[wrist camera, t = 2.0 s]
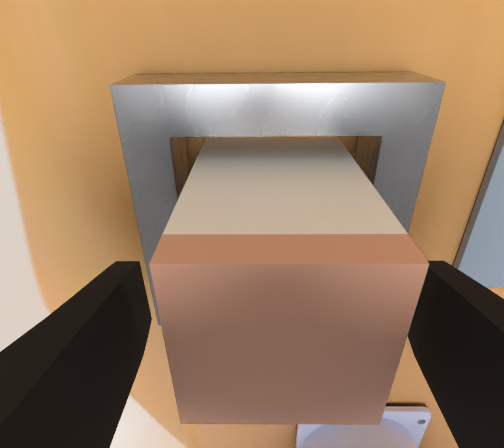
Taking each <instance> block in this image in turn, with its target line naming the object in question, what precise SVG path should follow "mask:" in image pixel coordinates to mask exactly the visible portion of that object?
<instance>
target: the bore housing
mask: <svg viewBox="0 0 504 448" xmlns="http://www.w3.org/2000/svg"><path fill="white" fill-rule="evenodd" d="M445 84H446V82H444V81H440V80H437V79H434V78H430V77H427V76H424V75H421V74H417V73H414V72H322V73H209V74H135V75H133V76H130V77H128V78H126V79H123V80H121V81H118V82H116V83H113V84H111V85H110V90H111V95H112V100H113V105H114V109H115V114H116V119H117V124H118V129H119V134H120V139H121V144H122V149H123V154H124V159H125V164H126V169H127V174H128V178H129V183H130V188H131V193H132V198H133V203H134V208H135V213H136V218H137V223H138V228H139V233H140V238H141V243H142V247H143V252H144V257H145V262H146V267H147V272H148V277H149V282H150V287H151V292H152V297H153V302H154V307H155V312H156V316H157V321H158V325H161V321H160V316H159V311H158V306H157V301H156V296H155V291H154V286H153V281H152V275H151V270H150V265H149V263H150V261H151V259H152V256H153V254H154V252H155V250H156V248H157V245H158V243H159V241H160V239H161V236H162V234H163V232H164V230H165V228H166V225H167V223H168V221H169V219H170V216H171V214H172V212H173V210H174V207H175V205H176V203H177V201H178V199H179V196H180V194H181V192H182V190H183V187H184V185H185V183H186V181H187V179H188V176H189V174H190V171H189V162H188V152H187V143H186V137H254V136H358V140H357V147H356V154H355V161H356V163H357V164H358V165H359V167H360V168H361V170H362V171H363V172H364V174H365V175H366V176H367V178H368V179H369V181H370V182H371V183H372V185H373V186H374V188H375V189H376V190H377V192H378V193H379V194H380V196H381V197H382V199H383V200H384V201H385V203H386V204H387V206H388V207H389V208H390V210H391V211H392V212H393V214H394V215H395V217H396V218H397V219H398V221H399V222H400V224H401V225H402V226H403V228H404V229H405V230H406V232H407V233H408V230H409V226H410V222H411V218H412V214H413V210H414V206H415V202H416V198H417V194H418V190H419V186H420V183H421V179H422V175H423V171H424V167H425V163H426V159H427V155H428V151H429V147H430V143H431V139H432V135H433V131H434V128H435V124H436V120H437V116H438V112H439V108H440V104H441V100H442V96H443V92H444V88H445Z"/></svg>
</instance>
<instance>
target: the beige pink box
mask: <svg viewBox="0 0 504 448" xmlns="http://www.w3.org/2000/svg"><path fill="white" fill-rule="evenodd" d="M149 265H150V270H151V275H152V281H153V286H154V291H155V296H156V301H157V306H158V311H159V316H160V321H161V326H162V331H163V336H164V341H165V346H166V352H167V357H168V362H169V367H170V372H171V377H172V382H173V387H174V392H175V397H176V402H177V407H178V412H179V418H180V423H181V424H316V425H380V423H381V419H382V416H383V413H384V410H385V406H386V403H387V400H388V397H389V393H390V390H391V387H392V384H393V380H394V377H395V374H396V371H397V367H398V364H399V361H400V358H401V354H402V351H403V348H404V345H405V341H406V338H407V335H408V332H409V328H410V325H411V322H412V319H413V315H414V312H415V309H416V306H417V303H418V299H419V296H420V293H421V290H422V286H423V283H424V280H425V277H426V273H427V270H428V267H429V262H428V261H427V260H426V258H425V257H424V255H423V254H422V253H421V251H420V250H419V248H418V247H417V246H416V244H415V243H414V242H413V240H412V239H411V237H410V236H409V235H408V233H407V232H406V230H405V229H404V228H403V226H402V225H401V224H400V222H399V221H398V219H397V218H396V217H395V215H394V214H393V212H392V211H391V210H390V208H389V207H388V206H387V204H386V203H385V201H384V200H383V199H382V197H381V196H380V194H379V193H378V192H377V190H376V189H375V188H374V186H373V185H372V183H371V182H370V181H369V179H368V178H367V176H366V175H365V174H364V172H363V171H362V170H361V168H360V167H359V165H358V164H357V163H356V161H355V160H354V159H353V157H352V156H351V154H350V153H349V152H348V150H347V149H346V147H345V146H344V145H343V143H342V142H341V141H340V139H339V138H338V137H211V138H205V141H204V143H203V145H202V147H201V150H200V152H199V154H198V156H197V158H196V161H195V163H194V165H193V167H192V170H191V172H190V174H189V176H188V179H187V181H186V183H185V185H184V187H183V190H182V192H181V194H180V196H179V199H178V201H177V203H176V205H175V207H174V210H173V212H172V214H171V216H170V219H169V221H168V223H167V225H166V228H165V230H164V232H163V234H162V236H161V239H160V241H159V243H158V245H157V248H156V250H155V252H154V254H153V256H152V259H151V261H150V263H149Z"/></svg>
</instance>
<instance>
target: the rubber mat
mask: <svg viewBox="0 0 504 448" xmlns="http://www.w3.org/2000/svg"><path fill="white" fill-rule="evenodd" d="M453 267H455V268H457V269H458V270H460V271H462V272H463V273H465V274H466V275H468V276H469V277H471V278H472V279H474V280H475V281H477V282H478V283H480V284H482V285H483V286H485V287H486V288H504V123H503V126H502V128H501V131H500V134H499V137H498V140H497V143H496V145H495V148H494V151H493V154H492V157H491V160H490V162H489V165H488V168H487V171H486V174H485V177H484V180H483V182H482V185H481V188H480V191H479V194H478V197H477V199H476V202H475V205H474V208H473V211H472V214H471V216H470V219H469V222H468V225H467V228H466V231H465V234H464V236H463V239H462V242H461V245H460V248H459V251H458V253H457V256H456V259H455V262H454V265H453Z"/></svg>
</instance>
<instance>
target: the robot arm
mask: <svg viewBox="0 0 504 448" xmlns="http://www.w3.org/2000/svg"><path fill="white" fill-rule="evenodd" d="M428 262H429V267H428V270H427V273H426V277H425V280H424V283H423V286H422V290H421V293H420V296H419V299H418V303H417V306H416V309H415V312H414V315H413V319H412V322H411V325H410V328H409V332H408V338H409V341H410V344H411V347H412V350H413V353H414V356H415V358H416V360H417V362H418V364H419V366H420V368H421V371H422V373H423V375H424V377H425V379H426V381H427V383H428V385H429V387H430V389H431V391H432V394H433V396H434V398H435V400H436V402H437V404H438V406H439V408H440V410H441V412H442V414H443V416H444V418H445V420H446V422H447V424H448V426H449V428H450V430H451V433H452V435H453V437H454V439H455V441H456V443H457V445H458V447H459V448H504V299H503V298H501V297H500V296H498V295H497V294H495V293H494V292H492V291H491V290H489V289H488V288H486V287H485V286H483V285H482V284H480V283H478V282H477V281H475V280H474V279H472V278H471V277H469V276H468V275H466V274H465V273H463V272H462V271H460V270H458V269H457V268H455V267H453V266H452V265H450V264H448V263H447V262H445V261H428ZM151 320H152V318H151V313H150V308H149V304H148V299H147V294H146V290H145V285H144V281H143V276H142V271H141V267H140V262H139V261H116V262H115V263H113V264H112V265H111V266H109V267H108V268H107V269H105V270H104V271H103V272H102V273H101V274H99V275H98V276H97V277H96V278H94V279H93V280H92V281H91V282H90V283H88V284H87V285H86V286H85V287H84V288H82V289H81V290H80V291H79V292H77V293H76V294H75V295H74V296H73V297H71V298H70V299H69V300H68V301H66V302H65V303H64V304H63V305H61V306H60V307H59V308H58V309H56V310H55V311H54V312H53V313H51V314H50V315H49V316H48V317H46V318H45V319H44V320H42V321H41V322H40V323H38V324H37V325H36V326H34V327H33V328H32V329H30V330H29V331H28V332H26V333H25V334H24V335H22V336H21V337H20V338H18V339H17V340H16V341H14V342H13V343H12V344H10V345H9V346H8V347H6V348H5V349H4V350H2V351H1V352H0V448H110V445H111V442H112V439H113V436H114V434H115V431H116V428H117V426H118V423H119V420H120V418H121V415H122V412H123V409H124V407H125V404H126V401H127V399H128V396H129V393H130V391H131V388H132V385H133V383H134V380H135V377H136V374H137V372H138V369H139V366H140V363H141V360H142V358H143V355H144V351H145V347H146V342H147V338H148V334H149V329H150V325H151ZM431 415H432V414H431V412H430V410H429V409H428V408H427V407H423V406H385V410H384V413H383V416H382V419H381V423H380V425H316V424H298V425H297V435H296V446H295V448H418V447H419V444H420V442H421V440H422V437H423V435H424V433H425V430H426V428H427V426H428V423H429V421H430V419H431Z"/></svg>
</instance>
